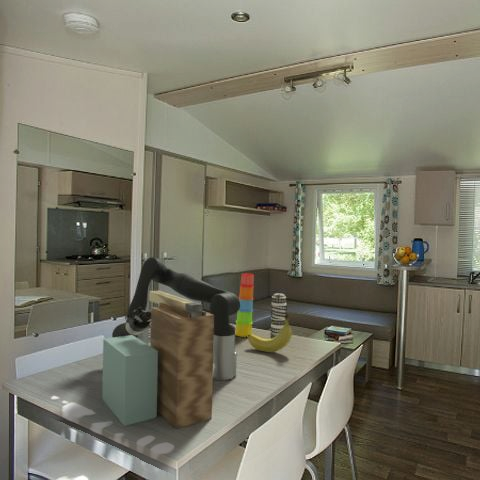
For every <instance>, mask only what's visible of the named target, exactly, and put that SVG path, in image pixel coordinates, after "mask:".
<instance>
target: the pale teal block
mask: <svg viewBox="0 0 480 480" xmlns="http://www.w3.org/2000/svg"><path fill="white" fill-rule="evenodd" d="M102 342H103V343H102V344H103V345H102V348H103V350H102V387H101V389H102V393H101V394H102V395H101V396H102V397H101V398H102V399H101V400H102V401H103V403H105V405H106V406H107V407H108V409H110V411H111V412H112V413H113V414H114V415H115V416H116V418H117V419H118V420H119V421H120V423H121V424H122V425H123V426H124V427H126V426H131V425H134V424H137V423H138V424H139V423H142V422H145V421H149V420H152V419H156V418H157V414H158V413H157V412H158V411H157V370H158V351H157V350H155V349H154V348H152V347H151V345H147V344H146V343H144V342H143V341H141V340H139V339H138V338H136V337H135V336H133V335H129V336H121V337H114V338H112V337H107V338H103V341H102Z"/></svg>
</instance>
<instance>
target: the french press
mask: <svg viewBox="0 0 480 480" xmlns="http://www.w3.org/2000/svg"><path fill="white" fill-rule="evenodd" d="M138 339H139V340H141V341H143V342H144V343H146V344H147V345H149V346H151V322H150V324H149V326H148V327H147V328H146V329H145V330H144V331H143V332H141V333H139V334H138Z"/></svg>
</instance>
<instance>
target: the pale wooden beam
mask: <svg viewBox="0 0 480 480" xmlns="http://www.w3.org/2000/svg"><path fill="white" fill-rule="evenodd" d="M148 294H149V295H148V299H149V300H148V301H149V302H151V303H154V304H156V305H159V303H163V304H166V305H169V306H171V307H174V308H177V309H179V310H182V311H184V312H187V313H190V317H200V316H202V311H203V304H202V303H200V302H198V301H197V302H195V301H194V300H192V301H191V300H190V299H186V298H184V297H180V296H177V295H173V294H170V293H167V292H164V291H162V290H149V292H148Z"/></svg>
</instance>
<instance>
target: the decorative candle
mask: <svg viewBox="0 0 480 480" xmlns="http://www.w3.org/2000/svg"><path fill="white" fill-rule="evenodd" d="M269 306H270V308H269V309H270V319H271V322H270V323H271V324H270V328H269V329H270V333H269V335H270V336H269V339H273V338H274V337H276V336H277V335H278V334H279V332H280V331H281V329H282V328H283V326H284V324H285V318H284V317H285V316H286V314H287V313H288V312H286V311H287V310H288V305H287V296H286V295H285V294H284V293H277V292H276V293H273V295H272V296H271V304H270V305H269Z"/></svg>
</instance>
